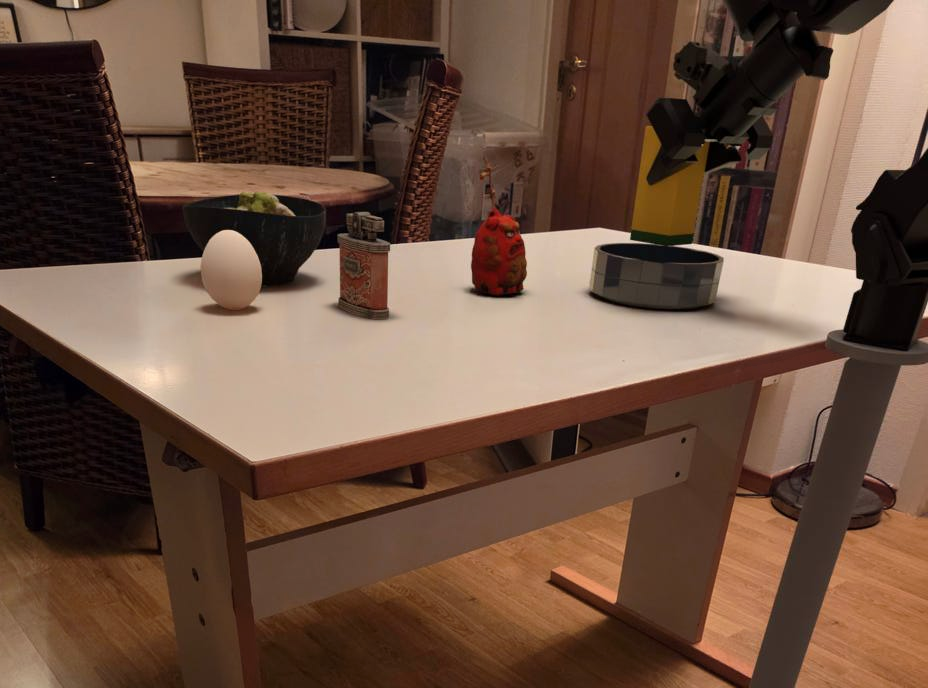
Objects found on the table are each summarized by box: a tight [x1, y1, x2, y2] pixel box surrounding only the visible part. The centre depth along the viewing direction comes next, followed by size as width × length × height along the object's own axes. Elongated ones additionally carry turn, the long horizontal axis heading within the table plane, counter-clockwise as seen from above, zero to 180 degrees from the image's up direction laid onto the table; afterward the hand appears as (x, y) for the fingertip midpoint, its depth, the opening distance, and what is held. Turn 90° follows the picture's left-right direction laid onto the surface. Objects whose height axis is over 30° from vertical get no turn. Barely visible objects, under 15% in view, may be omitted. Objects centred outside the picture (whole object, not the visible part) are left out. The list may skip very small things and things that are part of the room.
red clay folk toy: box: [470, 156, 528, 297], centre depth 107 cm, size 8×7×15 cm
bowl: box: [181, 191, 327, 287], centre depth 106 cm, size 17×17×10 cm
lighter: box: [337, 211, 391, 320], centre depth 94 cm, size 8×3×10 cm, turn 37°
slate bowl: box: [588, 242, 725, 311], centre depth 111 cm, size 16×16×6 cm
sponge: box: [629, 125, 710, 246], centre depth 106 cm, size 6×5×12 cm
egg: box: [200, 230, 262, 311], centre depth 92 cm, size 6×6×8 cm
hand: (661, 181), depth 106 cm, fingers closed on sponge, 5 cm apart
